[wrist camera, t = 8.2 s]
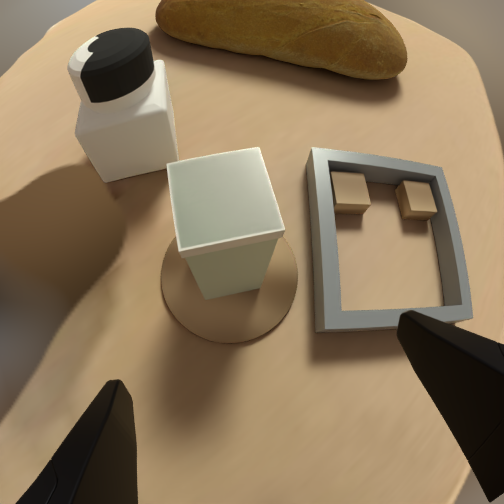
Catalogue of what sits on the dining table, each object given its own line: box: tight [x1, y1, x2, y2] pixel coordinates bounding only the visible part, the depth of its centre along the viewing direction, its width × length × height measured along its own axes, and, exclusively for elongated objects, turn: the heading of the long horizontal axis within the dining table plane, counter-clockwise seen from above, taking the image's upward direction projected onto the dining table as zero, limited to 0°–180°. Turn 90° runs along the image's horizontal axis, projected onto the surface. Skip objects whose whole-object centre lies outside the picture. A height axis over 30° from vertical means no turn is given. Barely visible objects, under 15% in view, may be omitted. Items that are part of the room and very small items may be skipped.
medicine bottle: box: [67, 28, 179, 183], centre depth 21 cm, size 7×7×12 cm
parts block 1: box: [330, 171, 371, 214], centre depth 25 cm, size 3×3×2 cm
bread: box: [155, 0, 407, 79], centre depth 30 cm, size 18×35×10 cm, turn 72°
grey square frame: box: [306, 147, 473, 333], centre depth 23 cm, size 14×13×2 cm
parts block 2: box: [395, 180, 437, 220], centre depth 25 cm, size 3×3×2 cm
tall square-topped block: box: [167, 147, 285, 300], centre depth 17 cm, size 4×4×10 cm
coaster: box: [161, 237, 298, 343], centre depth 22 cm, size 10×10×1 cm
